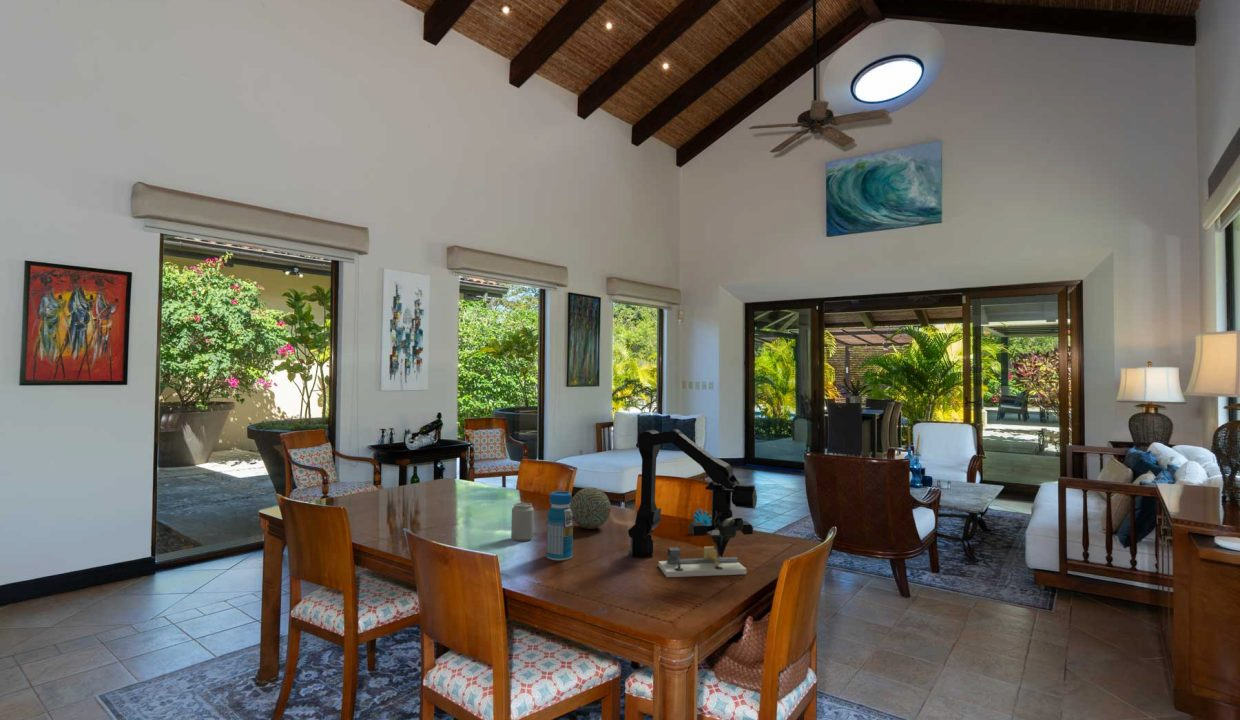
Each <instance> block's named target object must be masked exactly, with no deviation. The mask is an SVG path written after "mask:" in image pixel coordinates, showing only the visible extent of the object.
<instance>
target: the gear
mask: <svg viewBox="0 0 1240 720" xmlns="http://www.w3.org/2000/svg"><path fill="white" fill-rule="evenodd" d="M708 513H709V512H708V511H707V510H704V511H703V509H699V510H695V511H694V514H693V515H692V518H693V519H694V520H693V522H702V523H703V524H704V525H711V523H710V520H712V514H709V515H707V514H708ZM715 529H717V528H715Z"/></svg>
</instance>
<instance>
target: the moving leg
mask: <svg viewBox="0 0 1240 720" xmlns="http://www.w3.org/2000/svg"><path fill="white" fill-rule="evenodd" d="M717 555H718V553H717V549H716V547H715V545H712V546H710V545H709V546H703V558H706V559H711V560H712V561H713V562H714V563H715V567H718V561H717V560H716V558H717Z"/></svg>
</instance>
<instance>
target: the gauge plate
mask: <svg viewBox="0 0 1240 720" xmlns="http://www.w3.org/2000/svg"><path fill="white" fill-rule="evenodd" d="M680 565H681V567H680V568H678V565H677V564H667V560H660V561H659V560H658V567H659V569H660V570H661V571H662V573H663V574H664V576H665V577H666V578H678V577H679V578H680V577H683V578H684V577H705V576H706V577H707V576H708V577H709V576H731V575H733V576H734V575H747V567H745V566H743V565H742V564H741V563H740V562H739V561H738V562H723V563H718V567H715V563H693V564H680Z"/></svg>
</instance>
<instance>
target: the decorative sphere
mask: <svg viewBox="0 0 1240 720" xmlns="http://www.w3.org/2000/svg"><path fill="white" fill-rule="evenodd" d="M610 501H611V500H610V498H609V496H608V495H607V494H606V493H605V492H604V491H603V490H601V489H599V488H597V487H594V486H593V487H592V486H591V487H590V486H589V487H584V488H582V489H580V490H578V491H577V492H576V493H575V494H574V496H572V497H571V504H570V505H569V506H570V507H571V509H572V511H573V518H572V520H573V522H575V524H577V525H578V526H580V528H583V529H587V530H593V529H597V528H599V527H601V526H603V525H604V524H605V523H606V522H607V521H608V519H609V517H610V514H611V502H610Z"/></svg>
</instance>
